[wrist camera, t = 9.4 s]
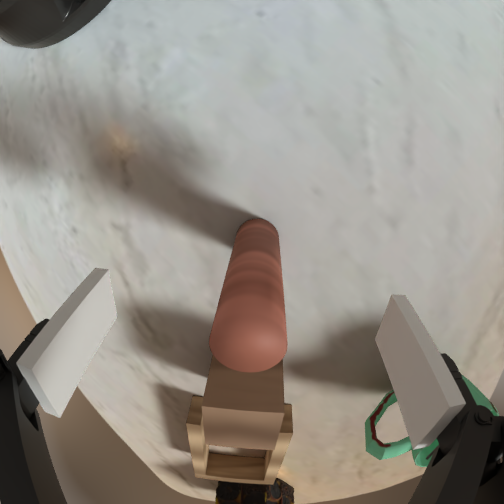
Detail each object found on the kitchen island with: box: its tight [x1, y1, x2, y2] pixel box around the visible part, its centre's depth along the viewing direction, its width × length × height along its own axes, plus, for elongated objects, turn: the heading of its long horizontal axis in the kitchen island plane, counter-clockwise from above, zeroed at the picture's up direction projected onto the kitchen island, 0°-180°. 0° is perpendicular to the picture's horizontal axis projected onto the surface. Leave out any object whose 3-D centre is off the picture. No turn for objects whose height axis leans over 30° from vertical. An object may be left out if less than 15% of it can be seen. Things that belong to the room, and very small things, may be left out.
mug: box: [365, 374, 499, 467], centre depth 24 cm, size 15×10×10 cm
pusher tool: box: [202, 219, 287, 450], centre depth 20 cm, size 18×6×12 cm, turn 176°
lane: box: [186, 396, 293, 485], centre depth 32 cm, size 16×11×4 cm
